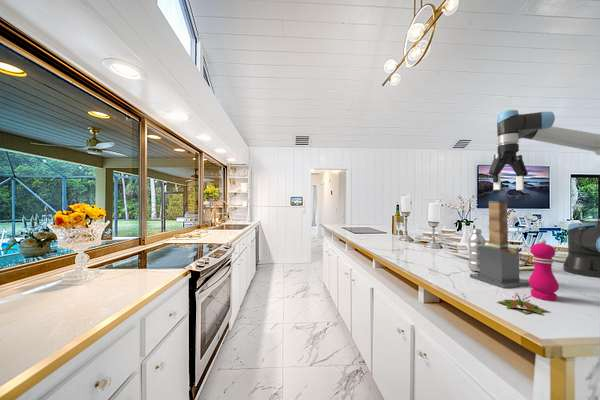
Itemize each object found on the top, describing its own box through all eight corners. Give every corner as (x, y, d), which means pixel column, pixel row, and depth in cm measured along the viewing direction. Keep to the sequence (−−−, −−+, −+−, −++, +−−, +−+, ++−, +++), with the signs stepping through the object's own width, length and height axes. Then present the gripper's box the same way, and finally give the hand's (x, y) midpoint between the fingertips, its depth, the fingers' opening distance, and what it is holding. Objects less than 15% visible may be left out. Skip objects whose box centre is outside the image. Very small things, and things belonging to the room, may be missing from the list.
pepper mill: (565, 302, 78) (564, 240, 78) (539, 300, 79) (538, 240, 79) (547, 294, 85) (546, 237, 85) (523, 292, 86) (522, 237, 86)
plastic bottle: (468, 268, 118) (467, 228, 119) (485, 270, 114) (484, 229, 115) (468, 271, 113) (467, 229, 114) (486, 274, 109) (485, 230, 110)
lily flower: (517, 299, 81) (517, 286, 81) (561, 316, 69) (560, 300, 69) (487, 302, 79) (487, 288, 79) (527, 319, 67) (527, 303, 67)
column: (497, 258, 102) (496, 200, 102) (508, 261, 98) (507, 200, 98) (489, 259, 101) (488, 200, 101) (500, 261, 97) (499, 200, 97)
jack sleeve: (495, 275, 107) (494, 244, 108) (531, 285, 94) (530, 249, 94) (469, 277, 104) (469, 245, 105) (503, 288, 91) (503, 251, 91)
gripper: (519, 147, 118) (520, 190, 118) (478, 145, 113) (479, 189, 112) (537, 144, 111) (538, 189, 111) (494, 141, 105) (495, 188, 105)
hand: (508, 189), depth 111 cm, fingers open, 13 cm apart
